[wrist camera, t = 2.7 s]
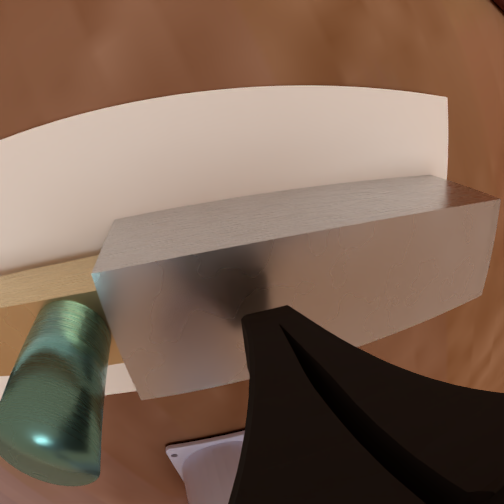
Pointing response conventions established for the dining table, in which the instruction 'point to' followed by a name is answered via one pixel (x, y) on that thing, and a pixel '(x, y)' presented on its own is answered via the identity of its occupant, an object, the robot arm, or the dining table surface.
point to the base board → (200, 162)
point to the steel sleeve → (287, 271)
